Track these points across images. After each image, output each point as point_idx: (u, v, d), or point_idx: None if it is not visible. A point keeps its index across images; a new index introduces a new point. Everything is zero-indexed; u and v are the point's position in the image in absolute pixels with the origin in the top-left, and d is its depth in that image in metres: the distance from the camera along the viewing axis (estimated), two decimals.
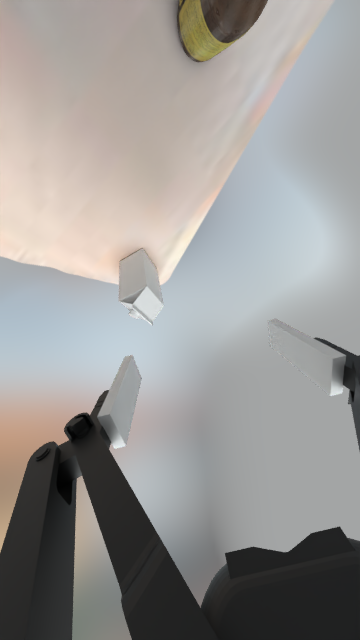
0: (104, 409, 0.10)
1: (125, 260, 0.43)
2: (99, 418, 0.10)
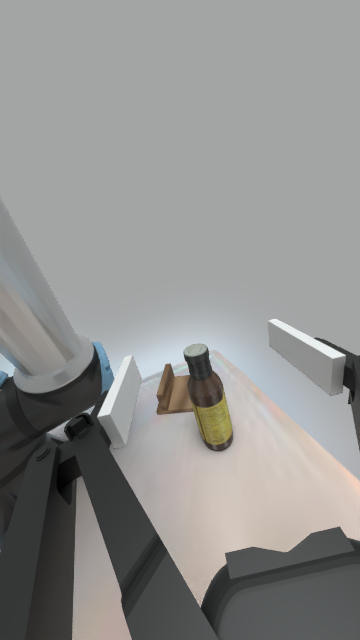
0: (104, 409, 0.10)
1: None
2: (99, 418, 0.10)
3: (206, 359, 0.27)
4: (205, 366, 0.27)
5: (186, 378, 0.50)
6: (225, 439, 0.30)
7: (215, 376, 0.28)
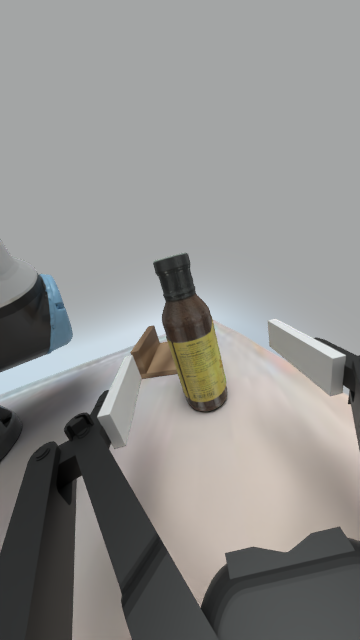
0: (104, 409, 0.10)
1: None
2: (99, 418, 0.10)
3: (185, 267, 0.18)
4: (184, 278, 0.18)
5: None
6: (216, 394, 0.21)
7: (200, 300, 0.20)
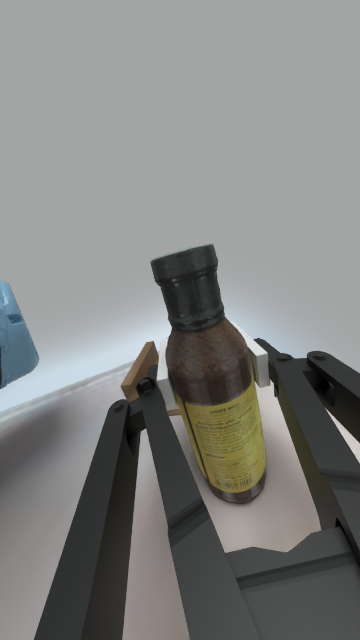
0: (161, 375, 0.12)
1: None
2: (158, 382, 0.11)
3: (211, 270, 0.10)
4: (209, 290, 0.10)
5: None
6: (254, 480, 0.13)
7: (233, 327, 0.11)
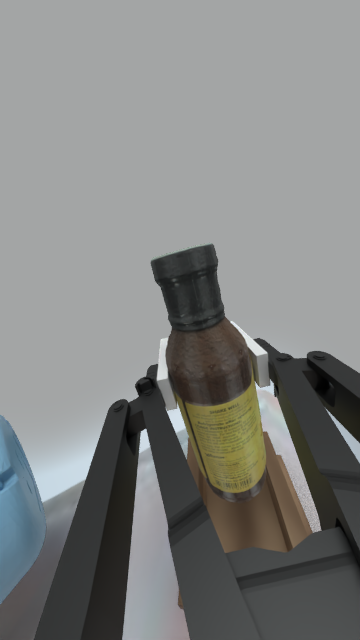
0: (160, 375, 0.12)
1: None
2: (158, 382, 0.11)
3: (211, 270, 0.10)
4: (209, 290, 0.10)
5: None
6: (254, 480, 0.13)
7: (233, 327, 0.11)
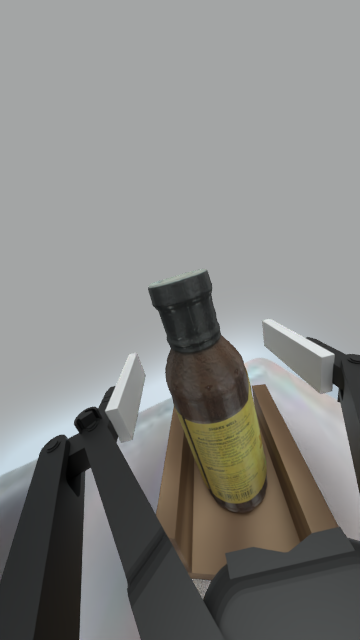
0: (111, 404, 0.10)
1: None
2: (107, 412, 0.10)
3: (205, 296, 0.10)
4: (204, 315, 0.10)
5: None
6: (255, 491, 0.13)
7: (229, 346, 0.12)
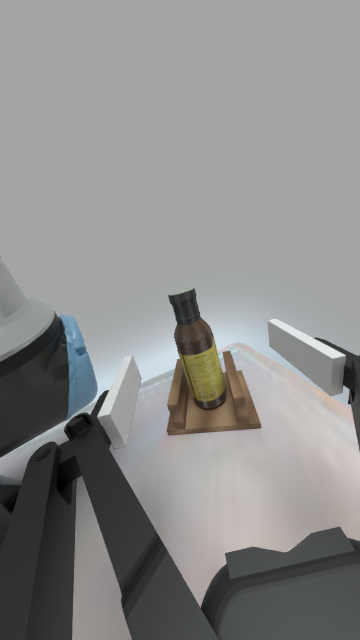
0: (104, 409, 0.10)
1: None
2: (99, 418, 0.10)
3: (192, 299, 0.24)
4: (192, 307, 0.24)
5: None
6: (217, 395, 0.27)
7: (204, 322, 0.26)
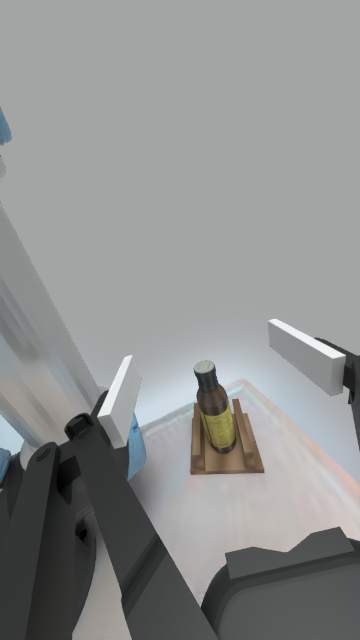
0: (104, 409, 0.10)
1: None
2: (99, 418, 0.10)
3: (213, 375, 0.31)
4: (213, 380, 0.31)
5: None
6: (229, 443, 0.35)
7: (221, 389, 0.33)
